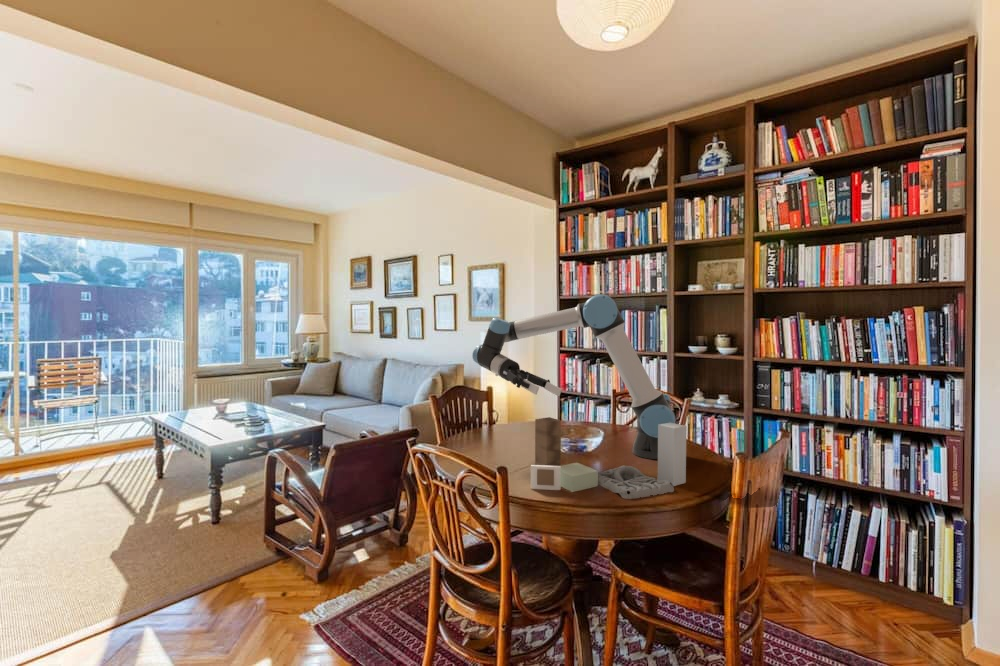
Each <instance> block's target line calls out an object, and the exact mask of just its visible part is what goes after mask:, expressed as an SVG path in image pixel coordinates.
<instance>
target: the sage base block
mask: <svg viewBox="0 0 1000 666" xmlns="http://www.w3.org/2000/svg"><path fill="white" fill-rule="evenodd" d="M598 472H599V471H598V470H597V469H593V468H592V467H589V466H586V465H585V464H582V463H579V462H572V463H568V464H563V465H562V464H561V480H560V488H563V489H566V490H567V491H569V492H571V493H574V492H578V491H583V490H587V489H591V488H595V487H598V485H599V484H598Z"/></svg>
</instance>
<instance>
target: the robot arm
mask: <svg viewBox="0 0 1000 666" xmlns="http://www.w3.org/2000/svg"><path fill="white" fill-rule="evenodd" d="M625 324H626V322H625V320H624V318H623V316H622V314H621V312H620V310H619V308H618V306H617V303H616V302H615V300H614V299H613V298H612V297H610V296H609V295H607V294H602V293H599V294H595V295H593V296H591V297H590V298H588V299H587V300H586V301H585V302H582V303H578V304H577V305H576V306H575V307H572V308H571V307H570V308H567V309H563V310H562V309H561V310H558V311H553V312H549V313H545V314H541V315H536V316H532V317H528V318H523V319H519V320H515V321H510V322H509V321H507V320H504V319H502V318H499V317H493V318H492V319H491V321H490V323H489V325H488V329H487V331H486V335H485V337H484V340H483V343H482V344H479V345H477V346H476V347H475V348H474V349H473V351H472V354H471V355H472V360H473V361H474V363H475V364H477V365H479V366H480V367H482V368H484V369H486V370H488V371H489V372H491V373H493V374H495V376H496V377H498V376H499V377H500V378H501V379H503V380H505V381H507V382H510V383H511V384H513V385H516V387H517V388H518V389H520V388H523V389H525V390H527V391H529V392H530V393H532V394H534V395H538V392H539V390H540V387H541V388H543V389H544V390H546V391H547V392H549V393H552V394H553V395H554V396H555V395H556V396H557V397H560V396H561V393H562V390H563V389H562V388H561V387H559V386H557V385H555V384H553V383H551V381H550V380H551V379H545V378H543V377H540V376H538V375H536V374H533V373H531V372H529V371H527V370H526V371H525V370H523V369H521V368H520V364H519V363H518V362H517V361H515V360H513V359H511V358H510V357H508V356H505V354H501V353H502V350H503V347H504V344H505V343H509V342H512V341H518V340H521V339H526V338H530V337H536V336H539V335H540V336H541V335H544V334H545V335H547V334H549V333H555V332H559V331H564V330H568V329H569V330H570V329H574V328H579V327H581V328H583V329H586V328H590V330H591V332H592V334H593V335H594V337H595V339H598V340H600V341H601V342H602V343H603V346H604V347H605V349H606V351H607V353H608V355H609V357H610V359H611V361H612V363H613V364H614V366H615V368H616V371H617V373H618V374H619V376H620V378H621V380H622V382H623V384H624V385H625V388H626V389H627V391H628V393H629V395H630V397H631V399H632V402H631V408H632V410H633V412H634V414H635V417H636V418H637V434H636V436H635V439H634V442H633V444H632V445H633V446H632V454H633V455H635V456H638V457H640V458H644V459H651V460H658V425H659V424H665V423H670V422H671V423H675V424H676V421H677V419H676V415H675V413H674V411H673V410H672V409H671V403H672V402H671V396H670V394H666V393H663V392H662V391H661V390H658V389H656V388H655V386H654V384H653V381H652V380H651V378H650V377H649V375H648V373H647V370H646V369H645V367H644V365H643V364H642V361H641V359H640V358H639V356H638V354H637V352H636V350H635V348H634V346H633V344H632V342H631V341H630V338H629V337H628V335H627V333H626V331H625V329H624V328H625V326H626V325H625Z"/></svg>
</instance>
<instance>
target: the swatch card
mask: <svg viewBox="0 0 1000 666" xmlns="http://www.w3.org/2000/svg"><path fill="white" fill-rule="evenodd" d="M561 466H562V465H561ZM561 466H548V465H535V464H530V490H549V491H561V486H560V480H561Z"/></svg>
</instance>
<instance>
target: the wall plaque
mask: <svg viewBox="0 0 1000 666" xmlns="http://www.w3.org/2000/svg"><path fill="white" fill-rule="evenodd" d="M598 485H599V486H601V487H602V488H604V489H606V490H609V491H611V492H613V494H619V496H621V498H622V499H625V500H633V499H640V497H641V498H646V497H647V498H648V497H651V496H650V495H653V496H657V494H659V495H664V493H665V494H667V493H674V491H675V488H674V486H673V484H672V483H671V482H670V481H668V480H658V478H657V477H654V476H648V475H645V474H644V473H643V472H642V471H641V470H640V469H638V468H636V467H635V466H633V465H632V466H631V465H624V464H623V465H620V466H618V467H615V468H608V470H604V471H602V472H601V471H598ZM628 492H629V493H628Z"/></svg>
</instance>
